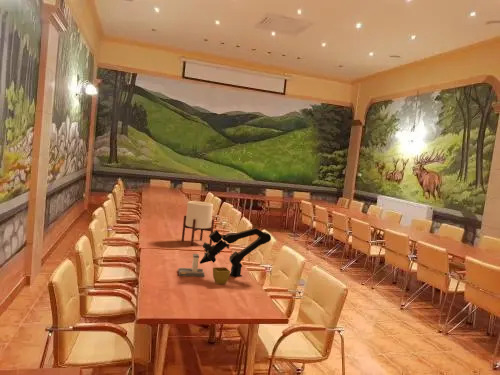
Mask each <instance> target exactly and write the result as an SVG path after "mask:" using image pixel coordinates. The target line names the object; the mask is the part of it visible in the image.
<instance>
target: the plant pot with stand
mask: <svg viewBox="0 0 500 375" xmlns="http://www.w3.org/2000/svg"><path fill="white" fill-rule="evenodd" d="M213 209H214V204H213V203H211V202H207V201H206V202H205V201H198V200H197V201H195V200H193V201H191V200H189V201H187V206H186V215H183V222H182V223H183V224H182V234H181V235H182V236H181V242H184V241H185V234H186V233H185V230H186V229H191V238H190V246H192V247H193V246H194V240H195V232H196V231H199V230H200V236H199V241H203V234H204V233H203V232H204V231H205V232H210V234H211V233H212V232H214V225H215V219H213V211H214V210H213ZM209 244H210V245H211V246H212V245H213V241H212V240H211V239H210V238H209Z"/></svg>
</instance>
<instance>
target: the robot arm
mask: <svg viewBox="0 0 500 375" xmlns="http://www.w3.org/2000/svg"><path fill="white" fill-rule="evenodd" d="M251 236H257V238H256V240H253V242H252V243H250V244H249V245H247V246H246V247H245V248H243V249H241V251H239V252H237V251H234V252H233V253H231V254H230V256H229V259H228V260H229V262H230V263H231V264H230V265H231V268H230V274H229V276H231V277H234V278H238V277H243V274H242V273H241V272H242V268H243V265H242V263H241V262H242V261H243V259H244V258H245V257H246V256H248V254H250V253H252V252H253V251H255V250H256V249H257V248H258V247H260V246H262V245H265V244H267V243H269V242H270V241H271V240H272V235H270V234H269V233H268V232H267V231H262V230H260V229H259V228H257V227H253V228H250V229H246V230H244V231H243V230H242V231H239V232H230V233H226V234H220V233H219V231H218V229H216V230H215V231H214V230H213V232H212V233H211V232H210V234H209V235H208V238H209V240H210V239H211V240H212V243H216V244H212V245H210V243H207V242H206V241H205V242H203V244H202V248H203V251H204V256H202V258H201V260H200V261H199V264H204V263H208V262H212V263H213V264H214V263H215V262H216V260H217V259H216V256H217V255H218V254H219V255H220V254H221V252H222V251H223V250H225V248H227V249H228V250H229V249H230V244H233V243H235V242H237V241H239V240H241V239H244V238H247V237H251Z"/></svg>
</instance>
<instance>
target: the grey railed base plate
mask: <svg viewBox="0 0 500 375" xmlns="http://www.w3.org/2000/svg"><path fill="white" fill-rule="evenodd" d="M177 272H178V274H179V277H195V278H196V277H202V278H205V272H204V268H198V269H197V272H192V267H178V270H177Z"/></svg>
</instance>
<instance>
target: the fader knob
mask: <svg viewBox="0 0 500 375" xmlns="http://www.w3.org/2000/svg"><path fill="white" fill-rule="evenodd" d="M199 259H200V255H199V254H198V253H193V254H192V262H191V263H192V264H191V268H192V272H197V269H199Z"/></svg>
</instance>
